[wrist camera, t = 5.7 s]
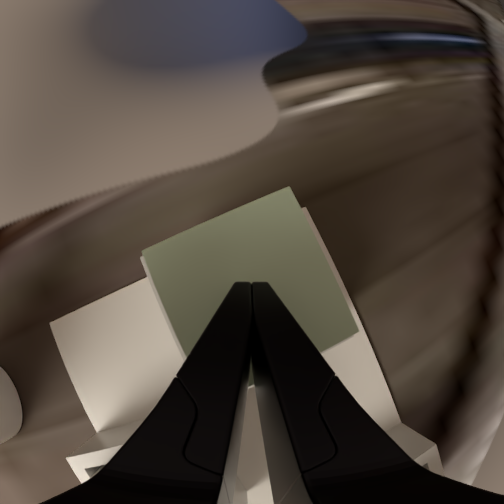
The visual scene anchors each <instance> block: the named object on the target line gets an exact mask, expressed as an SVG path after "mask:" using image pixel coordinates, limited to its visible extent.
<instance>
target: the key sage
mask: <svg viewBox="0 0 504 504" xmlns="http://www.w3.org/2000/svg"><path fill="white" fill-rule="evenodd" d="M142 254H143V257H144V259H145V262H146V265H147V267H148V270H149V272H150V275H151V277H152V280H153V282H154V285H155V287H156V290H157V292H158V295H159V297H160V299H161V302H162V304H163V307H164V309H165V311H166V314H167V316H168V318H169V321H170V323H171V325H172V327H173V330H174V332H175V334H176V336H177V338H178V341H179V343H180V345H181V347H182V349H183V351H184V354H185V356H186V358H187V357H188V355H189V353H190V352H191V350H192V349H193V347H194V345H195V344H196V342H197V341H198V339H199V338H200V336H201V334H202V333H203V331H204V330H205V328H206V326H207V325H208V323H209V322H210V320H211V319H212V317H213V315H214V314H215V312H216V311H217V309H218V307H219V306H220V304H221V303H222V301H223V299H224V298H225V296H226V295H227V293H228V292H229V290H230V288H231V287H232V285H233V284H234V283H235V282H237V281H246V282H250V283H251V284H252V282H268V283H269V284H270V285H271V287H272V288H273V290H274V291H275V292H276V294H277V295H278V296H279V298H280V299H281V300H282V302H283V303H284V305H285V306H286V307H287V309H288V310H289V311H290V313H291V314H292V315H293V317H294V318H295V319H296V321H297V322H298V324H299V325H300V326H301V328H302V329H303V330H304V332H305V333H306V334H307V336H308V337H309V338H310V340H311V341H312V343H313V344H314V345H315V347H316V348H317V349H318V351H319V352H320V353H321V352H322V351H324V350H326V349H328V348H330V347H332V346H334V345H336V344H338V343H339V342H341V341H343V340H345V339H347V338H349V337H350V336H352V335H354V334H356V333H357V332H359V329H358V327H357V324H356V322H355V320H354V318H353V315H352V313H351V311H350V309H349V307H348V304H347V302H346V300H345V298H344V296H343V293H342V291H341V289H340V287H339V285H338V283H337V281H336V278H335V276H334V274H333V272H332V270H331V268H330V266H329V264H328V262H327V259H326V257H325V255H324V253H323V251H322V249H321V247H320V245H319V243H318V241H317V239H316V237H315V235H314V233H313V231H312V229H311V227H310V225H309V223H308V221H307V219H306V217H305V215H304V213H303V211H302V209H301V207H300V205H299V203H298V202H297V200H296V198H295V196H294V194H293V192H292V190H291V188H290V186H289V187H286V188H284V189H281V190H279V191H276V192H274V193H271V194H269V195H267V196H264V197H262V198H259V199H257V200H255V201H252V202H250V203H248V204H245V205H243V206H241V207H238V208H236V209H234V210H231V211H229V212H227V213H224V214H222V215H220V216H217V217H215V218H213V219H211V220H208V221H206V222H204V223H201V224H199V225H197V226H195V227H193V228H190V229H188V230H186V231H184V232H181V233H179V234H177V235H175V236H173V237H170V238H168V239H166V240H164V241H162V242H160V243H157V244H155V245H153V246H151V247H149V248H147V249H145V250H142ZM252 385H254V379H253V373H252V364H251V365H250V375H249V383H248V387H249V386H252Z"/></svg>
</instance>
